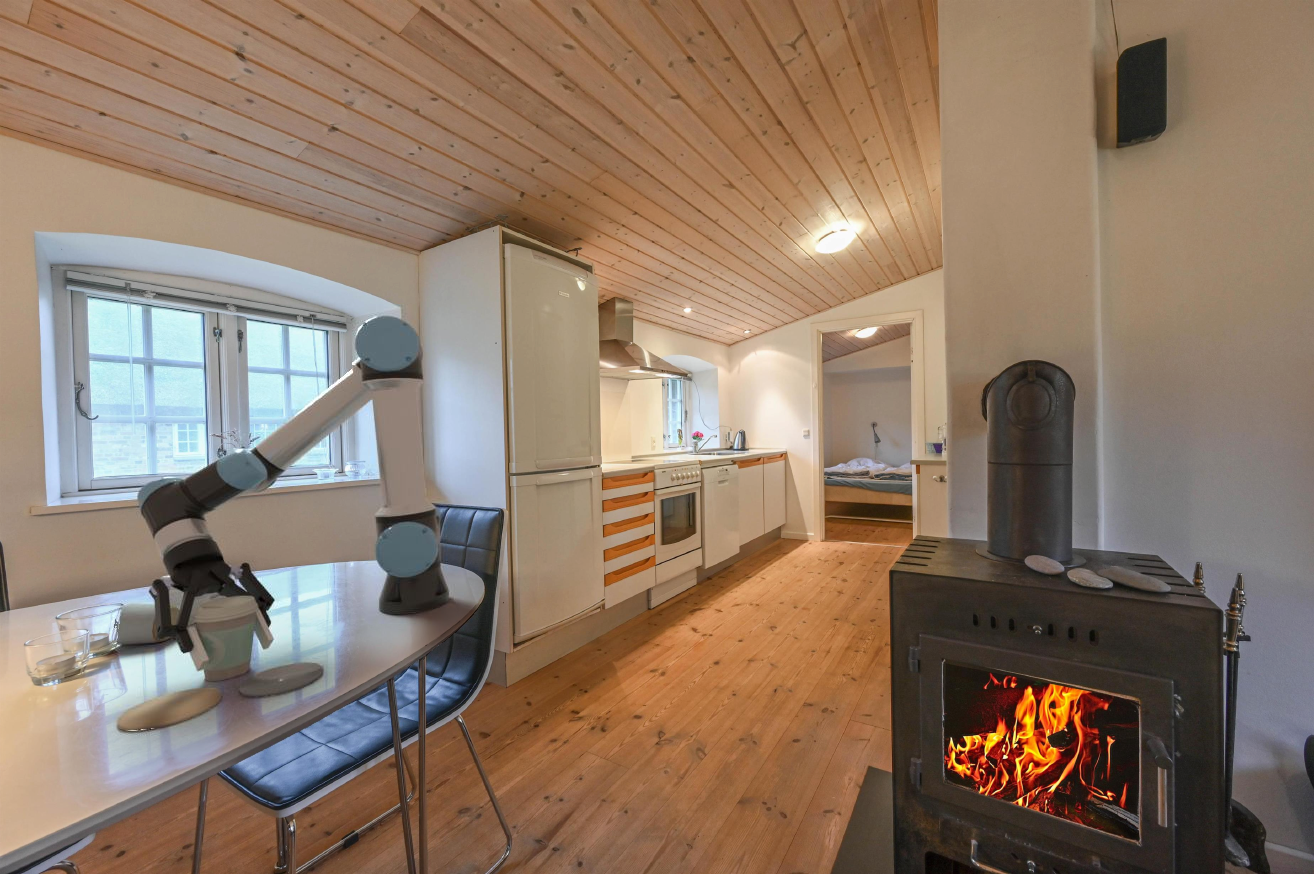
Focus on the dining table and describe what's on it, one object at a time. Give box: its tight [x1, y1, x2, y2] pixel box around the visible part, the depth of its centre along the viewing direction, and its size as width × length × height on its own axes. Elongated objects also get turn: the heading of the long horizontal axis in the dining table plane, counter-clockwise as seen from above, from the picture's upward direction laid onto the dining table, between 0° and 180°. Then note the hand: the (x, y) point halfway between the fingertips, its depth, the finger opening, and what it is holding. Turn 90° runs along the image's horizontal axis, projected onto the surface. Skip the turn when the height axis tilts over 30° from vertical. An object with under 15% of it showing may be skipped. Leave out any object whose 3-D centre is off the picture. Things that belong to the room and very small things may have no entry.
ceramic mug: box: [114, 603, 180, 646], centre depth 104 cm, size 11×8×8 cm
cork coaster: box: [117, 687, 222, 731], centre depth 75 cm, size 11×11×1 cm
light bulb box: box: [160, 564, 232, 627], centre depth 116 cm, size 11×7×11 cm, turn 172°
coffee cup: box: [193, 596, 259, 682], centre depth 87 cm, size 8×8×12 cm
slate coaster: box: [238, 661, 324, 699], centre depth 84 cm, size 11×11×1 cm
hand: (237, 654), depth 86 cm, fingers closed on coffee cup, 8 cm apart
